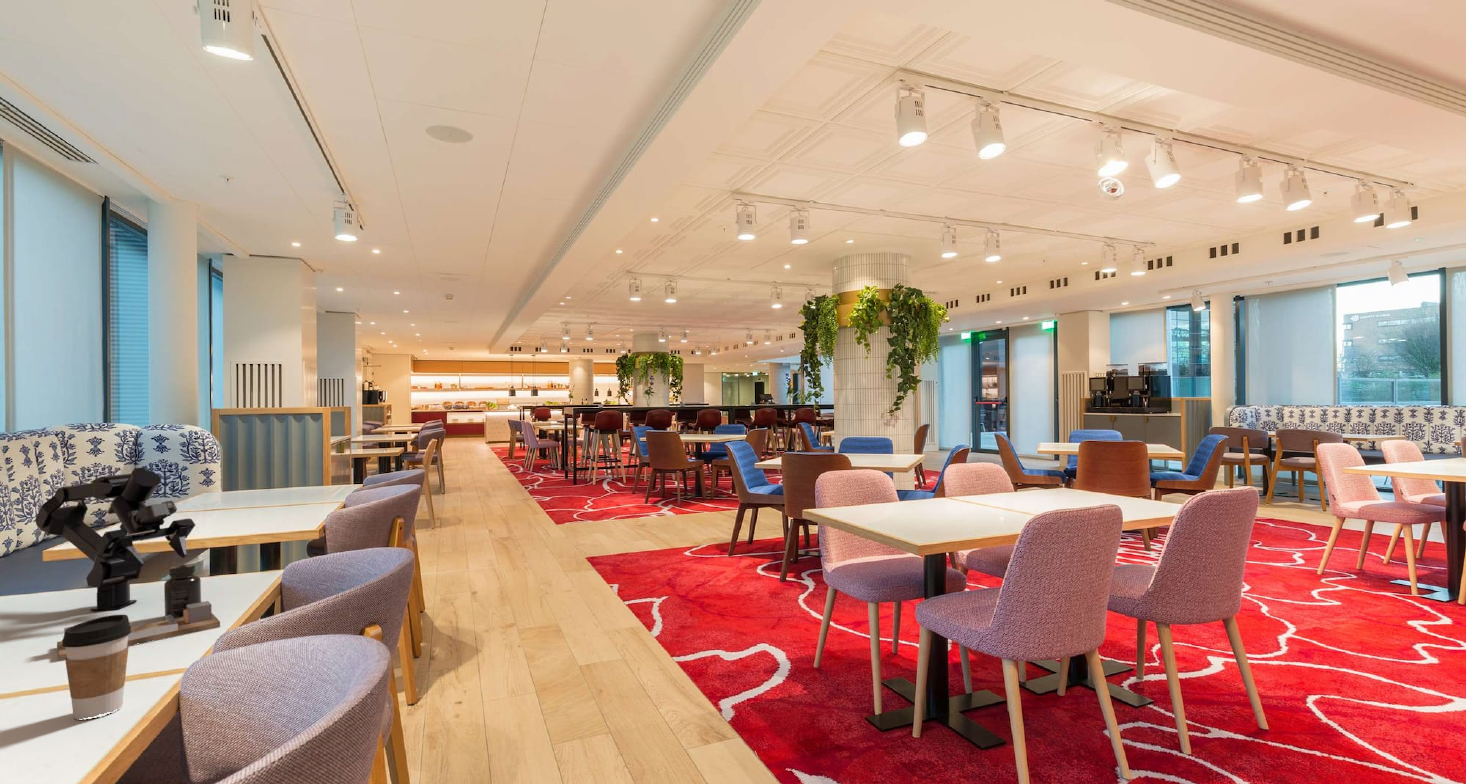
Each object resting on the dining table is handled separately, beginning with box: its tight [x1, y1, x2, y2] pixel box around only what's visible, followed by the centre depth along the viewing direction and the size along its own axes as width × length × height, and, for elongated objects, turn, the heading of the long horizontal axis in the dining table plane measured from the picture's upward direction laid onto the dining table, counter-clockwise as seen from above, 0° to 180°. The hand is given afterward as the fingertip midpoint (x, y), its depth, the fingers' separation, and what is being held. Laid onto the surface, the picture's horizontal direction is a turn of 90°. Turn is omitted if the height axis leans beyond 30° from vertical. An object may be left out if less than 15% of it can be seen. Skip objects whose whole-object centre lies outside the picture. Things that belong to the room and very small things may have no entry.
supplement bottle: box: [163, 563, 202, 619], centre depth 162 cm, size 7×7×12 cm
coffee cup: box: [61, 614, 131, 720], centre depth 112 cm, size 8×8×15 cm
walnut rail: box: [56, 600, 221, 662], centre depth 148 cm, size 26×11×5 cm, turn 137°
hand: (164, 561), depth 164 cm, fingers open, 9 cm apart
